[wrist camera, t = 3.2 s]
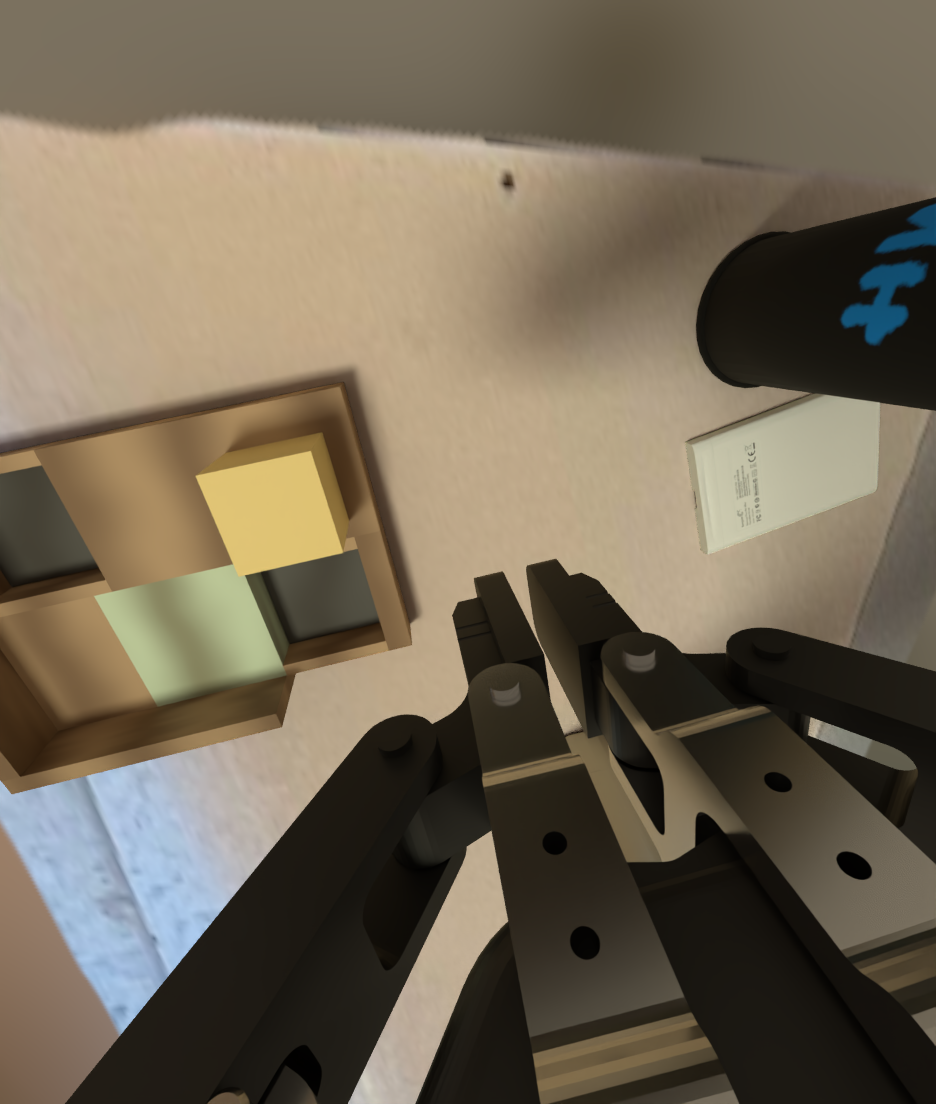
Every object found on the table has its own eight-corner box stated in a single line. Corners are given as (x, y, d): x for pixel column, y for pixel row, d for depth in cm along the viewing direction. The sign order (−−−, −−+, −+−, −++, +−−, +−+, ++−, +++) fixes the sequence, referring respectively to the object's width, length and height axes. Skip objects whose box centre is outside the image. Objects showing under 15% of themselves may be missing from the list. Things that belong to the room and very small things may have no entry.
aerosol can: (846, 320, 30) (1526, 303, 12) (734, 415, 32) (1198, 527, 14) (791, 195, 27) (1602, -76, 9) (669, 307, 29) (1162, 265, 10)
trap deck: (343, 382, 28) (333, 394, 22) (413, 636, 35) (418, 692, 29) (-95, 472, 26) (-221, 510, 21) (72, 718, 33) (11, 794, 28)
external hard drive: (858, 486, 36) (696, 548, 36) (859, 372, 33) (680, 440, 32) (878, 493, 35) (709, 557, 34) (882, 374, 31) (694, 445, 31)
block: (322, 432, 26) (310, 451, 22) (349, 520, 28) (343, 552, 24) (225, 452, 26) (195, 475, 22) (259, 540, 28) (238, 576, 24)
